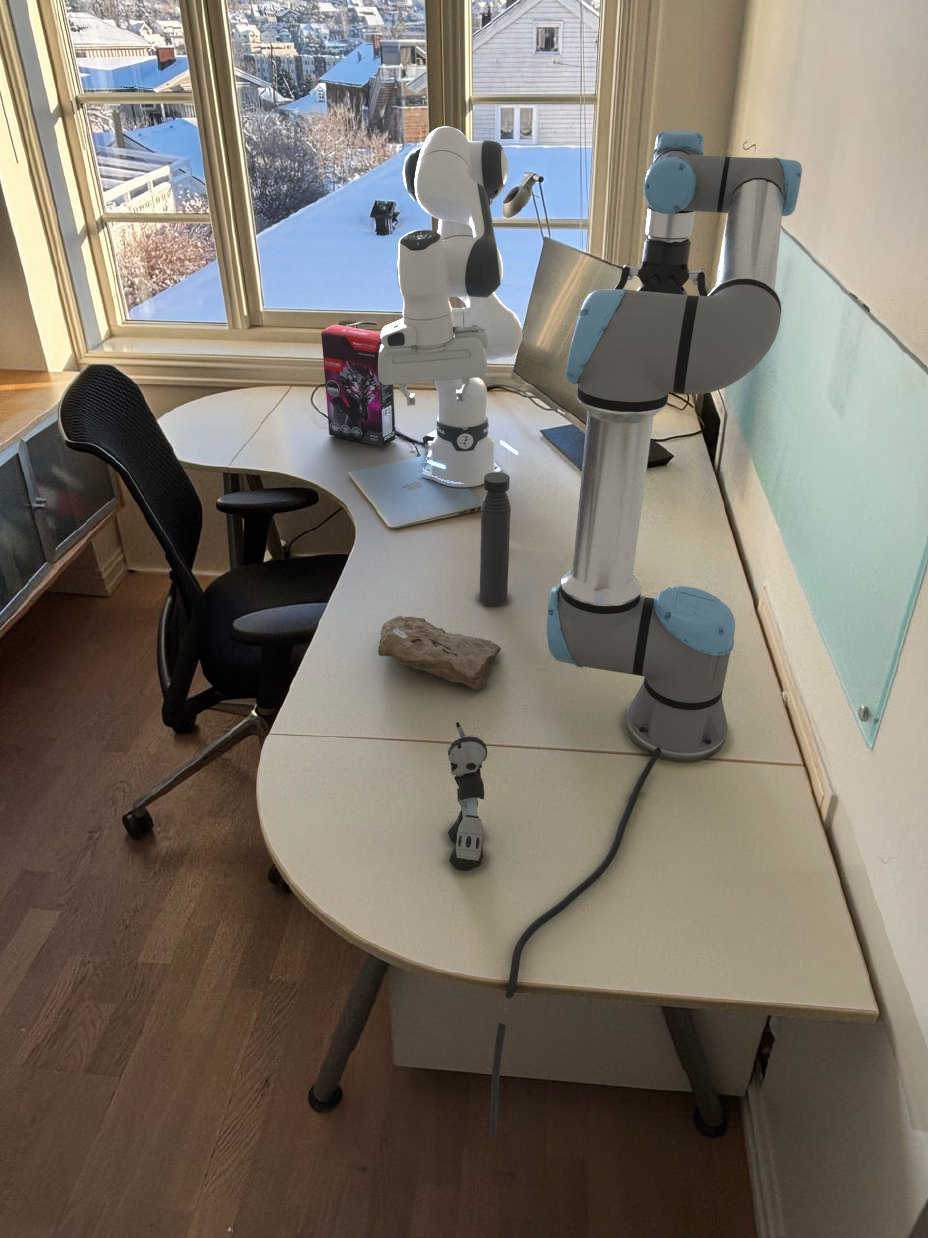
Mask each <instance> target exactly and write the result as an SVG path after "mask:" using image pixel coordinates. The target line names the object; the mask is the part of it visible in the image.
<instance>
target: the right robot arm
mask: <svg viewBox="0 0 928 1238" xmlns="http://www.w3.org/2000/svg"><path fill="white" fill-rule="evenodd" d="M704 147H705V136H704V135H703V133H701V132H699V131H694V130H684V129H683V130H681V129H680V130H679V129H677V130H676V129H672V130H671V129H670V130H662V131H660V132H659V133H658V134H657V135H656V139H655V144H654V149H653V151H652V153H653V161H652V164H650V166H649V167H648V169H647V171H646V173H645V176H644V183H643V195H644V198H645V201H646V202H647V204H648V208H647V212H646V213H647V214H646V222H645V223H646V224H645V234H646V235H647V237H646V238H645V239H644V243H643V250H642V260H641V265H640V267H636V266H632V265H631V264H630V263H625V264H624V265H623V267H622V269H621V273H620V279H619V281H618V283H617V284H616V285H615V287H614V288H613V289H595V290H593V291H591V292H590V293H589V294H588V295H587V296H586V298H585V299H584V301H583V303H582V305H581V308H580V311H579V313H578V316H577V320H576V323H575V327H574V330H573V335H572V339H571V342H570V346H569V352H568V357H567V362H566V373H565V378H566V381H567V382H568V383H571V384H572V385H574V386H575V385H577V394H576V399H577V401H578V402H579V403H580V404H581V406H582V407H583V408H584V409H585V411H586V412H587V413H586V424H585V435H584V445H583V456H582V467H581V478H580V486H579V487H580V489H579V499H578V509H577V520H576V529H575V530H576V532H575V540H574V551H573V552H574V553H573V563H572V568H571V569H569V570H568V571H567V572H565V573H564V574H563V575H562V577H561V580H560V583H559V584H555V585H554V586H552V588H551V590H550V593H549V597H548V601H547V616H546V639H547V645H548V650H549V652H550V655H551V656H552V658H554V659H555V660H556V661H558V662H560V663H564V664H567V665H568V664H569V665H573V666H576V667H577V668H583V667H584V668H588V669H589V668H591V669H596V670H602V671H607V672H608V671H609V672H614V673H620V674H627V675H633V676H638V677H639V676H640V677H643V682H642V684H641V685H640V688H639V689H638V691H637V692H636V694H635V695H634V697H633V699H632V701H631V702H630V704H629V705H628V707H627V711H626V719H625V728H626V732H627V734H628V736H629V738H630V739H631V741H632V742H634V744H636V745H637V746H638V747H639V748H640V749H641V750H643V751H645V752H646V753H648V754H650V755H651V756H650V758H649V760H648V761H647V763H646V765H645V767H644V769H643V770H642V772H641V774H640V776H639V777H638V780H637V781H636V784H635V786H634V788H633V790H632V792H631V795H630V797H629V799H628V803H627V805H626V808H625V810H624V812H623V814H622V817H621V819H620V822H619V825H618V828H617V829H616V830H617V831H616V833H615V836H614V840H613V842H612V845H611V847H610V849H609V852H608V853H607V855H606V856H605V858H604V860H602V862H601V864H600V865H598V867H597V868H596V869H595V871H593V872H592V873H591V874H590V875H589V876H588V877H587V878H585V880H584V881H583V882H581V883H580V884H579V885H578V886H577V887H576V888H574V889H573V890H572V891H571V892H570V893H569V894H568V895H566V896H565V897H564V898H563V899H562V900H561V901H559V902H558V903H557V904H555V905H554V906H553V907H551V908H550V909H548V911H545V912H544V913H543V914H542V915H540V916H539V917H537V918H536V919H535V920H534V921H533V922H532V923H531V924H530V925H529V926H528V927H527V928H526V929H525V930H524V931H523V933H522V934H521V935H520V937H519V939H518V941H517V943H516V944H515V947H514V950H513V953H512V957H511V965H510V973H509V978H508V983H507V987H506V990H505V998H506V999H509V1000H510V999H512V998H513V997H514V996H515V992H516V988H517V982H518V978H519V971H520V962H521V958H522V957H521V956H522V953H523V950H524V948H525V946H526V944H527V943H528V941H529V939H530V938H531V937H532V936H533V934H534V933H535V932H536V931H537V930H538V929H539V928H541V927H542V926H543V925H544V924H546V923H547V922H548V921H550V920H551V919H552V918H554V917H555V916H557V915H559V913H561V912H562V911H564V910H565V909H566V908H567V907H568V906H569V905H570V904H572V903H573V901H575V900H576V899H577V898H578V897H579V896H580V895H582V894H583V893H584V892H585V891H586V890H587V889H589V887H591V886H592V885H593V884H594V883H596V881H597V880H598V879H599V878H600V877H601V876H602V875H603V874H604V872H605V871H606V870H607V869H608V868H609V866H610V865H611V864H612V862H613V860H614V858H615V857H616V855H617V853H618V851H619V848H620V845H621V842H622V841H623V837H624V834H625V832H626V831H625V830H626V827H627V824H628V822H629V819H630V817H631V814H632V812H633V810H634V807H635V805H636V803H637V800H638V797H639V796H640V792H641V790H642V788H643V786H644V785H645V781H646V779H647V778H648V776H649V774H650V772H651V771H652V769H653V767H654V766H655V763H656V761H657V760H658V758H659V759H662V760H666V761H670V762H675V763H694V762H700V761H703V760H706V759H709V758H711V757H714V755H716V754H718V752H720V751H721V750H722V748H723V747H724V744H725V743H726V740H727V739H726V738H727V734H728V721H727V716H726V712H725V708H724V707H725V706H724V701H723V692H724V686H725V682H726V678H727V677H726V676H727V671H728V666H729V661H730V657H731V652H732V651H733V650H734V646H735V638H734V637H735V631H736V620H735V616H734V614H733V612H732V610H731V608H730V607H729V606H728V605H727V604H726V603H724V602H723V601H722V600H721V599H720V598H719V597H717V596H716V595H714V594H712V593H710V592H708V591H706V590H704V589H700V588H697V587H696V588H695V587H692V586H688V585H687V586H686V585H675V586H674V587H670V586H669V587H666V588H664V589H662V590H660V591H659V592H658V593H657V595H656V596H655V597H654V598H653V597H649V596H648V597H647V596H642V590H643V589H642V584H641V581H640V580H639V579H638V578H637V577H636V576H635V575H634V569H635V561H636V553H637V546H638V539H639V530H640V523H641V517H642V516H641V515H642V507H643V501H644V500H643V499H644V493H645V492H644V491H645V485H646V476H647V471H648V470H647V469H648V462H649V454H650V446H651V438H652V433H653V432H652V431H653V424H654V417H655V416H656V415H657V414H659V413H660V412H661V411H663V410H664V409H665V408H666V407H667V406H668V401H669V394H670V393H671V394H672V393H673V394H683V395H704V394H710V393H713V392H717V391H720V390H723V389H725V388H727V387H729V386H731V385H734V384H735V383H736V382H738V381H739V380H741V379H742V378H744V377H745V376H747V374H749V373H750V372H751V371H752V370H754V369H755V368H756V367H757V366H758V364H759V363H760V362H762V360H763V359H764V358H765V357H766V355H767V354H768V353H769V351H770V349H771V348H772V346H773V344H774V343H775V340H776V339H777V336H778V332H779V330H780V326H781V325H780V324H781V319H782V301H781V298H780V296H779V294H778V293H777V291H776V281H777V273H778V272H777V271H778V262H779V261H778V260H779V251H780V241H781V231H782V219H783V217H788V216H791V215H792V214H793V213H794V212H795V210H796V207H797V203H798V198H799V194H800V188H801V181H802V174H803V165H802V164H801V163H800V161H798V160H796V159H795V160H794V159H784V158H780V157H777V156H776V157H744V156H743V157H742V156H721V155H705V153H704V149H705V148H704ZM696 212H701V213H702V212H703V213H719V214H720V213H722V214H726V219H725V225H724V232H723V236H722V237H723V238H722V243H721V250H720V255H719V261H718V267H717V272H716V278H715V285H714V288H713V289H712V290H711V291H710V292H709V288H708V286H707V281H706V280H707V279H706V278H707V271H706V270H705V268H700V269H699V270H689V259H690V252H691V245H692V241H691V239H689V238H690V237H691V236H692V235H693V230H694V224H695V223H694V222H695V215H696ZM635 276H637V277H638V279H639V280H640V282H641V285H640V286H639V287H638V288H637V289H635V290H634V289H628V288H625V287H626V286H627V282H628V281H632V280H633V279H634V277H635ZM689 280H691V281H692V284H693V285H695V286H697V290H698V291H697V292H698V295H691V294H688V292H687V290H686V289H685V288H684V285H685V284H686V283H687V282H688V281H689ZM506 1030H507V1024H503V1023H500V1022H499V1023H498V1025H497V1030H496V1037H495V1044H494V1050H493V1051H494V1052H493V1060H492V1068H491V1069H492V1071H491V1086H490V1087H491V1090H490V1091H491V1092H490V1117H489V1132H488V1133H489V1134H488V1135H489V1137H490V1138H496V1137H497V1130H498V1116H499V1114H498V1113H499V1091H500V1077H501V1076H500V1075H501V1064H502V1056H503V1055H502V1054H503V1048H504V1041H505V1035H506Z"/></svg>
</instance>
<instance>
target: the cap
mask: <svg viewBox="0 0 928 1238" xmlns="http://www.w3.org/2000/svg"><path fill="white" fill-rule="evenodd" d="M510 479H511V478H510V475H509V474H507V473H505V472H502V471H501V472H492V473H488V474H486V475H485V476H484V484H483V489H484V490H485V491H486V492H487V491H488V492H491V493H503V492H506V493H507V492H508V491H509V490H510V482H511V480H510Z"/></svg>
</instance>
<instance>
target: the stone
mask: <svg viewBox="0 0 928 1238" xmlns="http://www.w3.org/2000/svg"><path fill="white" fill-rule="evenodd" d="M381 626H382V627H381V630H380V639H379V645H378V648H377V653H378V656H380V657H391V658H394V659H395V660H397V662H398V663H399V664H400V665H403V666H407V667H408V666H409V667H411V668H412V669H415V670H419V671H425V672H426V673H429V674H431V675H435V676H436V677H439V678H441V679H444V680H446V681H448V682H450V683H456V684H463V685H466V686H467V687H468V688H470V689H472V690H475V691H480V690H482V689H483V688H484V686H485V685H486V682H487V681H488V678H489V677H490V676H489V675H490V674H489V672H490V670H491V668H492V666H493V664H494V662H495V660H496V658H497V656H498V653H500V651H501V650H502V648H501V647H500V646H499V645H498V644H496V643H495V642H492V641H491V640H490V639H485V638H481V637H473V636H466V635H463V634H461V633H452V632H446V631H445V629H443V628H442V627H436V626H434V624H433V623H431V622H429V621H427V620H426V619H425V618H424V617H416V616H402V615H398V616H395V617H392V618H391V619H389V620H387V621H385V622H384V623H383V625H381Z"/></svg>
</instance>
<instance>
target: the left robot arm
mask: <svg viewBox="0 0 928 1238" xmlns="http://www.w3.org/2000/svg"><path fill="white" fill-rule="evenodd" d="M508 176H509V163H508V158H507V155H506V153H505V150H504V147H503V146H502V145H501V144H500V142H497V141H494V140H487V139H483V140H482V141H470V140H468V137H466V135H465V134H464V133H463V132H462V131H461V130H459V129H458V128H455V127H452V126H439V127H437V128H435V129H434V130H432V131H431V132H430V133H429V134H428V135H427V137H426V138H425V141H424V143H423V145H422V146H421V147H417V148H415V149H413V150H411V151H410V152H408V154H407V155H406V157H405V159H404V165H403V169H402V177H403V183H404V186H405V188H406V190H407V193H408V195H409V197H410V198H411V199H412V200H413V201H414V202H418V204H419V205H420V207H421V208H422V209H423V210H424V211H425V212H426V213H427V214H428V215H429V216H431V217H432V218H434V219H436V220H438V227H437V231H436V230H432V229H416V230H412V231H410V232H407V233H405V234H404V235H402V237H401V238H400V239H399V241H398V252H397V256H398V257H397V262H396V275H397V284H398V288H399V292H400V294H401V297H402V301H403V307H402V318H401V319H399V320H396V321H394V322H391V323H389V324H387V325H385V326H383V328H382V330H381V331H380V332H381V343H382V345H381V347H380V351H379V357H378V375H379V381H380V382H381V383H382V384H383V385H392V384H393V385H398V388H399V391H400V392H401V394H403V396H404V397H405V398H406V406H407V407H408V406H409V407H410V406H416V398H415V397H416V395H415V393H411V392H410V391H409V390H408V389H407V388H408V384H417V383H429V382H434V384H435V387H436V395H437V406H438V407H437V408H438V409H437V410H438V411H437V412H438V416H437V418H436V423H435V428H436V429H434V430H432V431H431V432H429V433H427V434H426V435H424V436H423V437H422V440H417V439H415V438H413V437H410V436H408V435H406V434H404V433H403V432H401V431H399V430H398V429H397V427H395V434H397V436H399V437H401V438H402V439H405V440H407V441H409V442H411V443H414V444H418V445H421V446H425V445H426V446H427V451H428V453H427V456H426V458H427V457H429V460H427V459H426V460H427V463H429V464H431V470H429V469H427V470H425V471H426V472H430V471H431V475H433V476H437V477H438V478H441V479H444V480H449V481H454V482H461V483H464V484H452V483H447V482H444V481H441V480H439V479H437V478H435V477H432V476H427V475H424V474H423V473H422V475H421V476H422V478H424V479H427V480H431V481H435V482H437V483H438V484H441V485H443V486H447V487H450V488H451V487H452V488H473V487H478V486H481V485H484V476H485V475H486V474H488V473H492V472H501V473H502V468H501V467H500V466H499V465H498V464H497V463H496V461H495V442H494V441H493V440H492V438H491V437H489V427H490V426H489V425H490V424H489V417H488V416H487V414H488V413H487V412H488V411H487V410H488V409H487V407H488V389H487V386H486V384H485V382H484V381H483V379H481V378H484V377H485V376H486V375H487V374H488V373H489V372H488V371H489V369H488V368H489V367H488V361H496V360H502V359H506V358H511V357H513V356H514V355H516V353H517V351H518V350H519V348H520V347H521V344H522V341H523V327H522V323H521V321H520V319H519V317H518V316H517V315H516V313H515V312H513V311H512V310H511V309H509V308H508V307H507V306H506V305H505V304H504V303H503V302H502V301H501V300H500V299H499V297H498V295H497V294H496V291H497V290H498V289H499V287H500V286H501V284H502V281H503V275H504V266H503V265H504V264H503V260H502V254H501V252H500V250H499V248H498V245H497V239H496V234H495V233H496V232H495V228H494V222H493V216H492V210H491V206H492V204H493V203H494V200H495V199H496V198H497V197H499V196H500V194H501V193H502V192H503V190H504V189H505V187H506V182H507V179H508ZM450 298H458V299H459V300H461V301H462V302H463V303H464V304H465V306H464V307H452V304H451V302H450ZM499 444H500V445H501V446H503V447H504V448H507V450H508V451H510V452H512V453H513V454H515V455H516V456H519V452H518V451H517V450H516V449H514V448H513V447H512V446H510V445H509V444H508V443H506V442H504V441H503V440H500V441H499Z"/></svg>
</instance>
